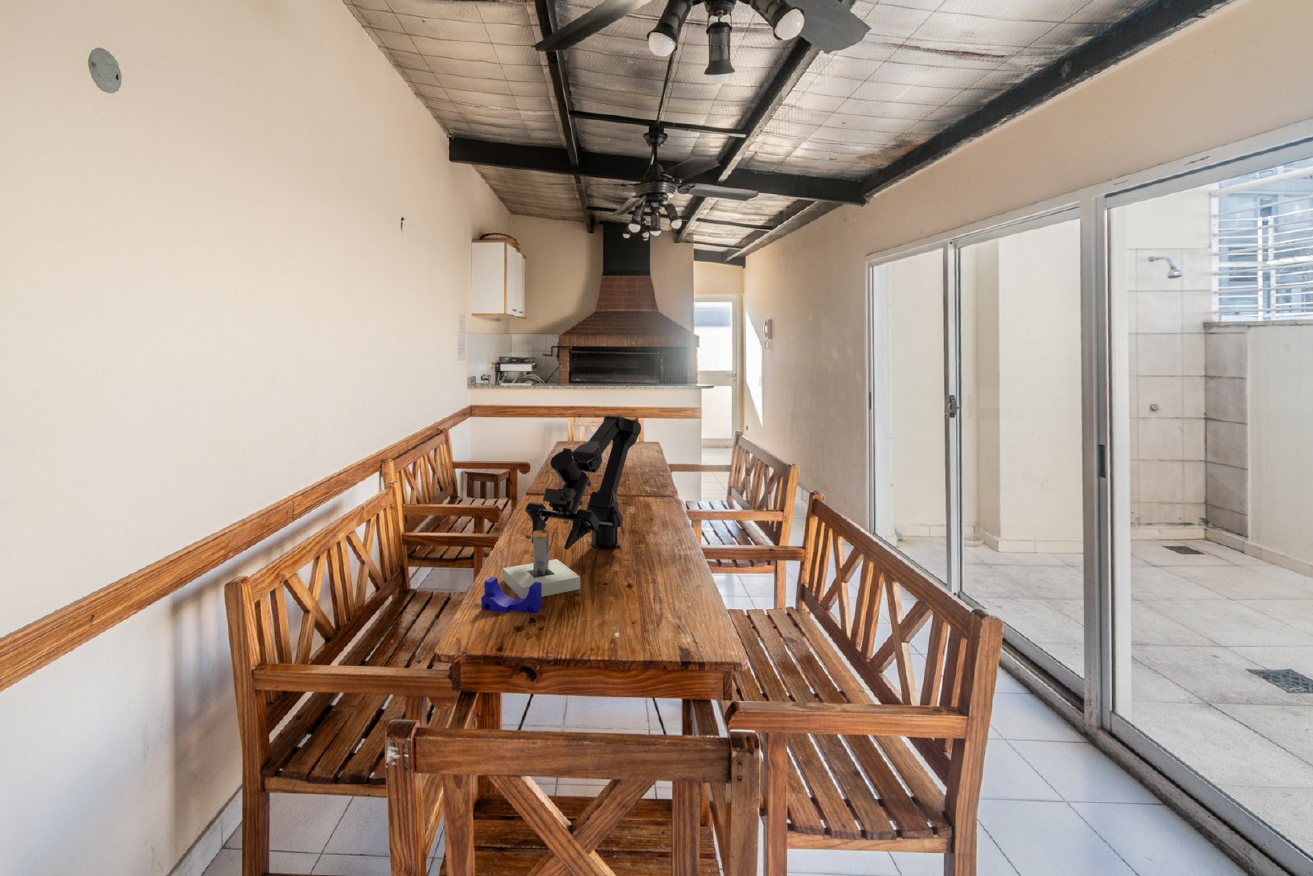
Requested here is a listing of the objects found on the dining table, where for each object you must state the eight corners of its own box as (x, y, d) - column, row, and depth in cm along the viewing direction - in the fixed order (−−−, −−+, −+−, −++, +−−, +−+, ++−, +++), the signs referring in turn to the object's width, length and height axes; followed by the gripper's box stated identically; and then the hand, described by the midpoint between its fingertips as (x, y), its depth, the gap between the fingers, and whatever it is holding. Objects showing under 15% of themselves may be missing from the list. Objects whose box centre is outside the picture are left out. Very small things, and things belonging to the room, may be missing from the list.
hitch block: (556, 570, 162) (556, 559, 161) (580, 589, 150) (580, 576, 150) (503, 580, 154) (502, 568, 154) (523, 600, 143) (522, 587, 142)
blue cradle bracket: (481, 610, 138) (480, 584, 137) (491, 602, 142) (491, 576, 141) (532, 617, 135) (532, 590, 134) (541, 608, 139) (541, 582, 138)
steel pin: (548, 581, 154) (548, 529, 152) (548, 587, 151) (548, 534, 149) (533, 582, 154) (533, 530, 152) (533, 587, 150) (532, 534, 148)
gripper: (528, 471, 160) (502, 525, 152) (593, 478, 153) (570, 536, 145) (545, 494, 168) (522, 546, 160) (608, 502, 161) (587, 558, 153)
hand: (549, 546), depth 154 cm, fingers open, 9 cm apart
